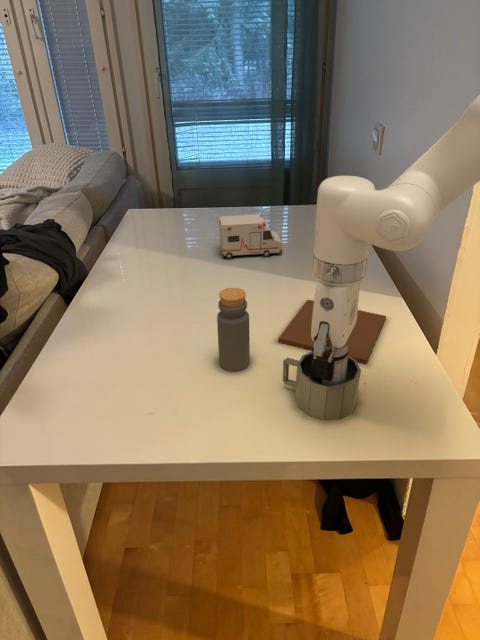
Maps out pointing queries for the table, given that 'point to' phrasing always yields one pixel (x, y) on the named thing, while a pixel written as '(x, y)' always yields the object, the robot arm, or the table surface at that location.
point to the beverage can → (339, 366)
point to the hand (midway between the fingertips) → (328, 366)
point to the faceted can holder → (323, 390)
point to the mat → (357, 341)
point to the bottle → (233, 330)
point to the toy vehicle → (247, 236)
